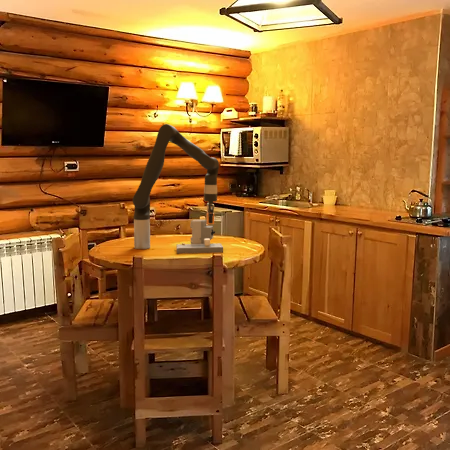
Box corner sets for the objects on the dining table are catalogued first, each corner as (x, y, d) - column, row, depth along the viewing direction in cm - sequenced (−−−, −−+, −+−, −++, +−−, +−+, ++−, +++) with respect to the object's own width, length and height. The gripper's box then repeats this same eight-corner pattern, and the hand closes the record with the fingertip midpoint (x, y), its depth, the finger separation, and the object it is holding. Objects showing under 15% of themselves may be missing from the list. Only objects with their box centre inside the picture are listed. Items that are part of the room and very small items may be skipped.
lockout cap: (207, 224, 291) (207, 213, 290) (206, 223, 295) (206, 212, 294) (214, 224, 292) (214, 213, 291) (213, 223, 296) (213, 212, 295)
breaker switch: (204, 245, 293) (204, 239, 292) (204, 244, 297) (204, 238, 296) (210, 245, 293) (210, 239, 293) (209, 244, 297) (209, 238, 297)
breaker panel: (177, 253, 287) (177, 246, 287) (176, 249, 299) (176, 243, 298) (223, 252, 291) (223, 245, 290) (220, 248, 302) (220, 242, 302)
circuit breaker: (213, 246, 310) (213, 221, 308) (190, 245, 313) (190, 220, 311) (216, 243, 317) (215, 220, 315) (193, 243, 320) (193, 219, 318)
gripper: (218, 193, 284) (218, 224, 287) (215, 191, 298) (215, 220, 301) (205, 193, 283) (204, 224, 286) (202, 191, 297) (202, 220, 300)
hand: (210, 222), depth 293 cm, fingers closed on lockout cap, 4 cm apart
